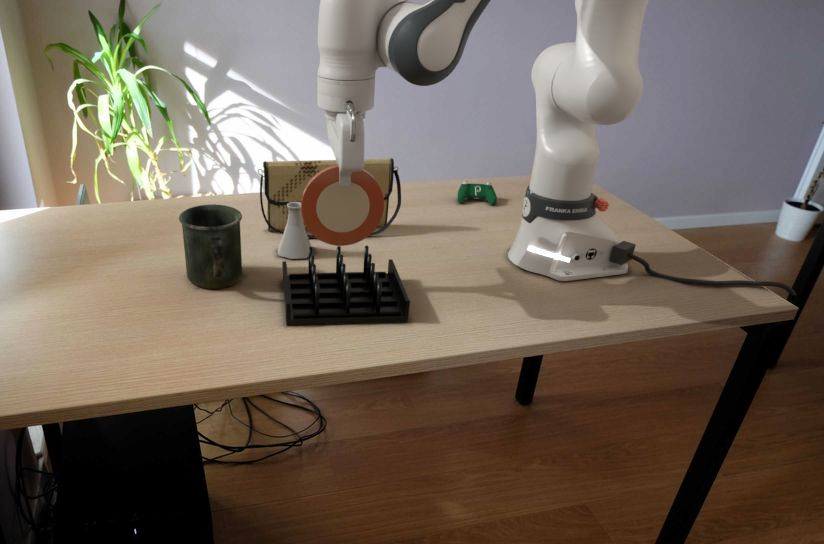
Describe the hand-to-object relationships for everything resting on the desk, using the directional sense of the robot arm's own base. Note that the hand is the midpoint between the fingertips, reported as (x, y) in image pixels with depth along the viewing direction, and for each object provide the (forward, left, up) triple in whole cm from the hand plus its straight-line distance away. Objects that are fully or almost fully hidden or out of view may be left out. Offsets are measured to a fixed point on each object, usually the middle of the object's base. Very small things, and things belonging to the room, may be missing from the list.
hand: (343, 182), depth 109 cm
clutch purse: (-1, -25, -20) cm, 32 cm away
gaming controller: (-38, -43, -20) cm, 61 cm away
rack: (0, +5, -19) cm, 20 cm away
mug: (+22, -3, -20) cm, 30 cm away
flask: (+7, -15, -20) cm, 26 cm away
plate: (0, 0, -4) cm, 4 cm away
